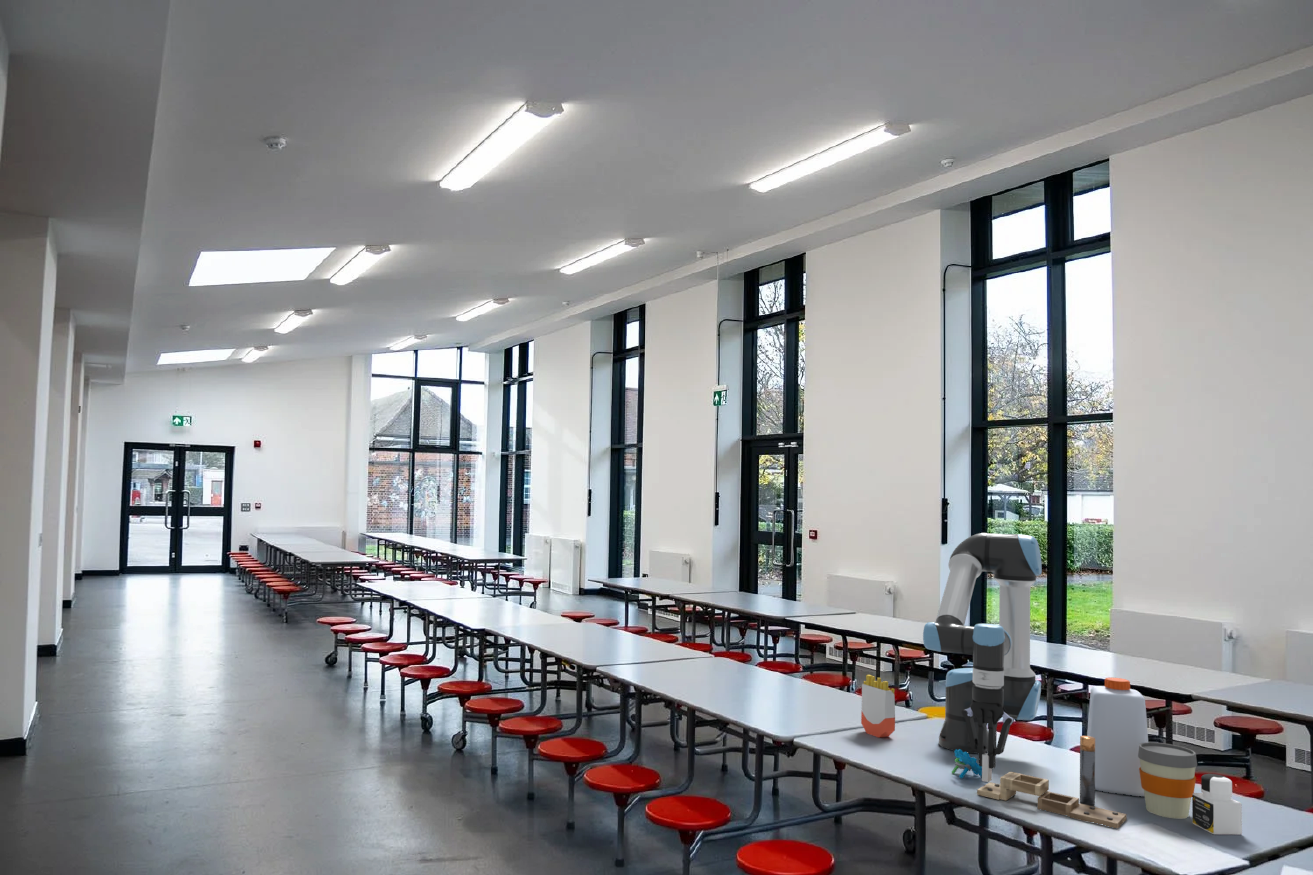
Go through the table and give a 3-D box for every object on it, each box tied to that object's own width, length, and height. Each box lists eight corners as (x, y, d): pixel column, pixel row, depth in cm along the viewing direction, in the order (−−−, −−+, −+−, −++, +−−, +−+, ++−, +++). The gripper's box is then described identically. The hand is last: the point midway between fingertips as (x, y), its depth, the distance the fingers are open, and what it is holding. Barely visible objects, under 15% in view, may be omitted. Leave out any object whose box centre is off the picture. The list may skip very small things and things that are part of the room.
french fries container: (871, 729, 288) (873, 672, 290) (895, 738, 279) (896, 679, 280) (860, 731, 286) (862, 673, 287) (884, 739, 276) (885, 680, 278)
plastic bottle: (1088, 791, 232) (1088, 681, 234) (1082, 775, 246) (1083, 671, 248) (1154, 799, 227) (1154, 687, 229) (1144, 783, 241) (1144, 677, 243)
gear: (997, 776, 236) (971, 749, 236) (984, 794, 234) (958, 766, 234) (972, 770, 246) (948, 744, 246) (960, 787, 245) (935, 760, 244)
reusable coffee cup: (1196, 825, 209) (1196, 759, 210) (1135, 813, 216) (1135, 749, 217) (1197, 810, 220) (1197, 748, 221) (1139, 800, 226) (1139, 739, 228)
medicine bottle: (1191, 823, 210) (1191, 771, 211) (1220, 823, 211) (1220, 771, 212) (1213, 834, 203) (1212, 780, 204) (1242, 835, 204) (1242, 780, 205)
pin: (1081, 800, 224) (1082, 734, 225) (1096, 803, 222) (1096, 737, 223) (1078, 803, 222) (1078, 737, 223) (1092, 806, 220) (1093, 740, 221)
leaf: (989, 786, 232) (990, 766, 232) (1049, 800, 222) (1049, 779, 223) (977, 794, 225) (977, 773, 225) (1038, 809, 215) (1038, 786, 216)
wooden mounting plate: (1047, 800, 223) (1047, 790, 223) (1126, 819, 211) (1126, 807, 211) (1036, 809, 216) (1036, 798, 216) (1117, 828, 204) (1117, 817, 205)
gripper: (957, 683, 231) (955, 777, 229) (1008, 691, 223) (1007, 789, 221) (968, 679, 237) (967, 771, 235) (1019, 688, 228) (1018, 783, 227)
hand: (986, 780), depth 228 cm, fingers closed
